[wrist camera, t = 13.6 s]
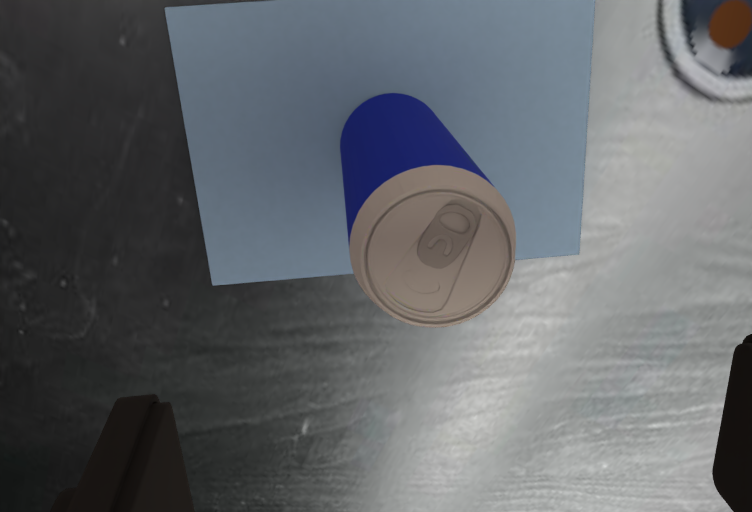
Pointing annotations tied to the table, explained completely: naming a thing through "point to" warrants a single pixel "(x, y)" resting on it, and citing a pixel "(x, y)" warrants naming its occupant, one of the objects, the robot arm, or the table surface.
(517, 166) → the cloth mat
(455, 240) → the beverage can
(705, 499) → the table surface
